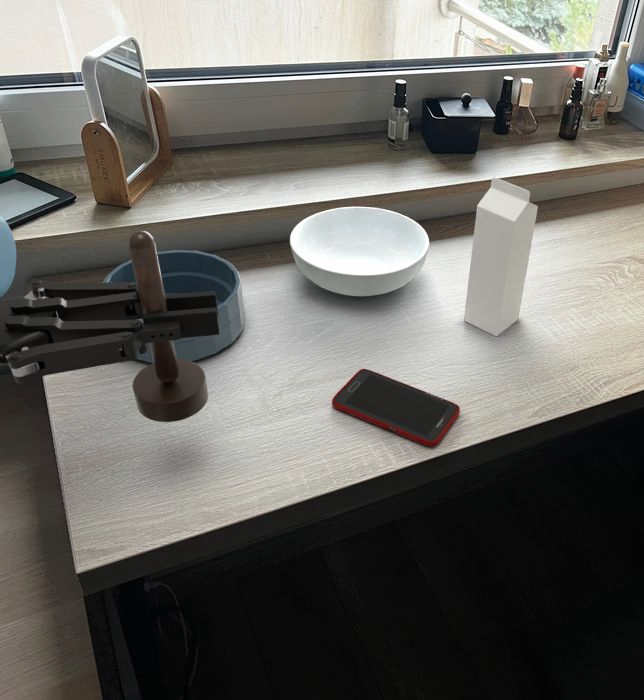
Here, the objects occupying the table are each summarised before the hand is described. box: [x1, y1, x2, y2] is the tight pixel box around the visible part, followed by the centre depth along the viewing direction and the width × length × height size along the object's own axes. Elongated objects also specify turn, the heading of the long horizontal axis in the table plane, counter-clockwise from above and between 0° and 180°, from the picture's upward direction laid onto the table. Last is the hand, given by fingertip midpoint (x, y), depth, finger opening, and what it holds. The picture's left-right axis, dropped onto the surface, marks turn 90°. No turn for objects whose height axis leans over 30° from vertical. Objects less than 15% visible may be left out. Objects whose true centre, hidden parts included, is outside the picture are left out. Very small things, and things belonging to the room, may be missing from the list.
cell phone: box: [331, 368, 461, 448], centre depth 90 cm, size 8×15×1 cm, turn 65°
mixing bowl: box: [102, 249, 246, 364], centre depth 97 cm, size 17×17×7 cm
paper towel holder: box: [127, 230, 209, 423], centre depth 70 cm, size 7×7×20 cm
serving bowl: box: [289, 206, 430, 297], centre depth 111 cm, size 21×21×7 cm
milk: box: [463, 176, 539, 337], centre depth 101 cm, size 6×6×22 cm
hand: (216, 312), depth 71 cm, fingers closed on paper towel holder, 2 cm apart
